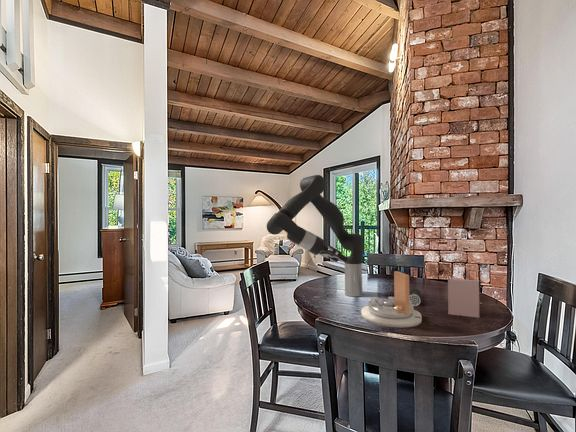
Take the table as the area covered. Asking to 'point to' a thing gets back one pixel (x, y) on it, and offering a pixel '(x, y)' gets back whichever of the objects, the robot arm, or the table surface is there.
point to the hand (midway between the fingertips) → (342, 260)
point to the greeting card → (463, 297)
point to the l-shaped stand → (394, 300)
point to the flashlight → (415, 294)
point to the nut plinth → (387, 322)
